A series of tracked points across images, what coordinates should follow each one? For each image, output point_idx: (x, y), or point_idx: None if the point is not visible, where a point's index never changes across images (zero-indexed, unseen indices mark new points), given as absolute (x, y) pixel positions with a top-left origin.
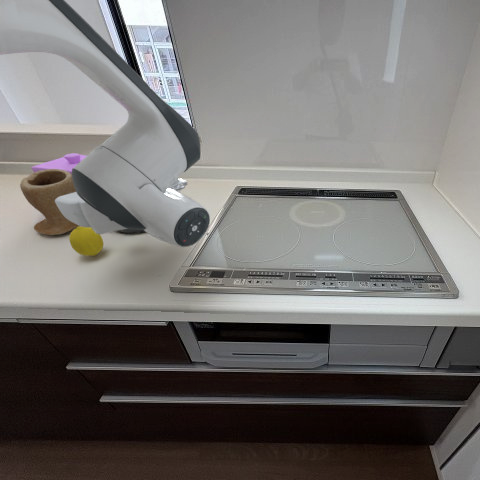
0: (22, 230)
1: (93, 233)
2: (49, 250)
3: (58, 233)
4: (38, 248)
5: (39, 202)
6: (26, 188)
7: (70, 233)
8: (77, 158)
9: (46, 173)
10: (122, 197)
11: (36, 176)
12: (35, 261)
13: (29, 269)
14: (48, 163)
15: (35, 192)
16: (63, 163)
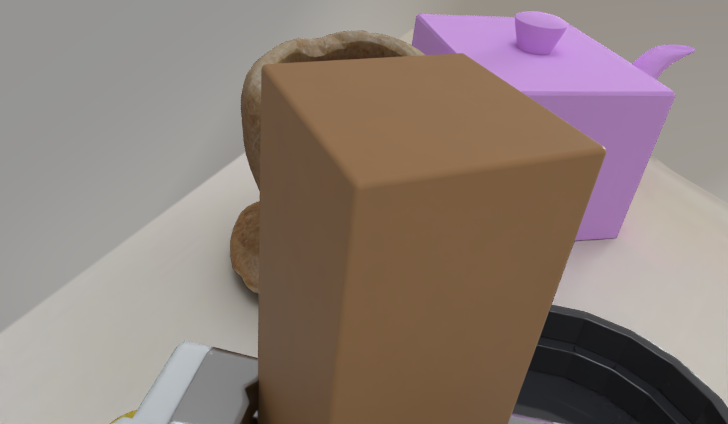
0: (244, 191)
1: None
2: (158, 341)
3: (248, 287)
4: (162, 301)
5: (252, 155)
6: (249, 81)
7: (118, 418)
8: (548, 38)
9: (376, 51)
10: None
11: (338, 49)
12: (75, 363)
13: (14, 392)
14: (466, 21)
15: (253, 113)
16: (499, 38)
